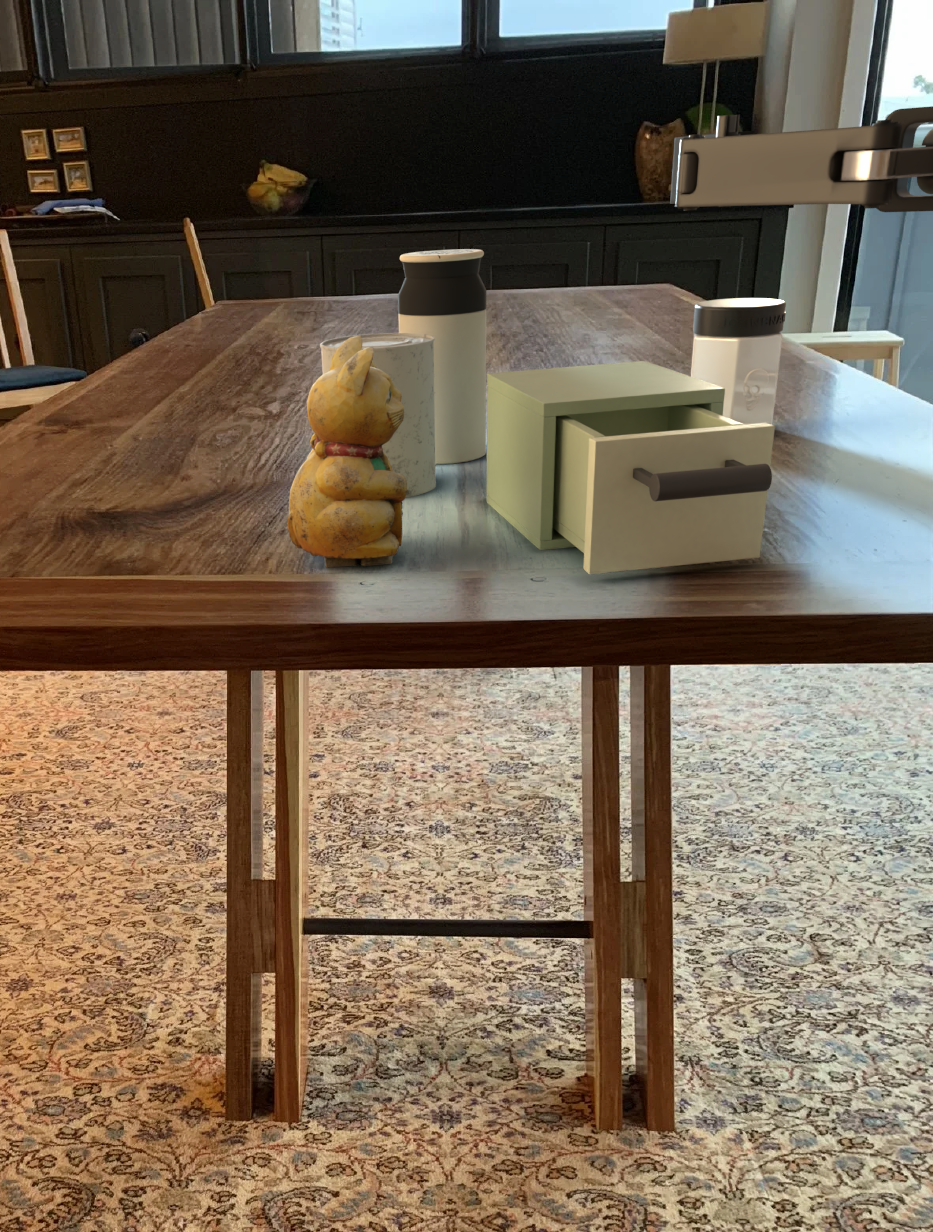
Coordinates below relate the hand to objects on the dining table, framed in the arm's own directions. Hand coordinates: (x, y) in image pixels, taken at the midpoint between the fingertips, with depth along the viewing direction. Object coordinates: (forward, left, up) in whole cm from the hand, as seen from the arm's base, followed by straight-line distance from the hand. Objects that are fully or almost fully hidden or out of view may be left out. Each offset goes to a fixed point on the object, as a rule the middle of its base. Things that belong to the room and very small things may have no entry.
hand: (818, 161), depth 56 cm
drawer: (+9, -14, -23) cm, 29 cm away
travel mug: (+35, -43, -24) cm, 60 cm away
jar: (+11, -58, -24) cm, 64 cm away
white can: (+36, -30, -24) cm, 52 cm away
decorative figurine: (+30, -9, -24) cm, 39 cm away
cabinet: (+16, -24, -24) cm, 37 cm away
